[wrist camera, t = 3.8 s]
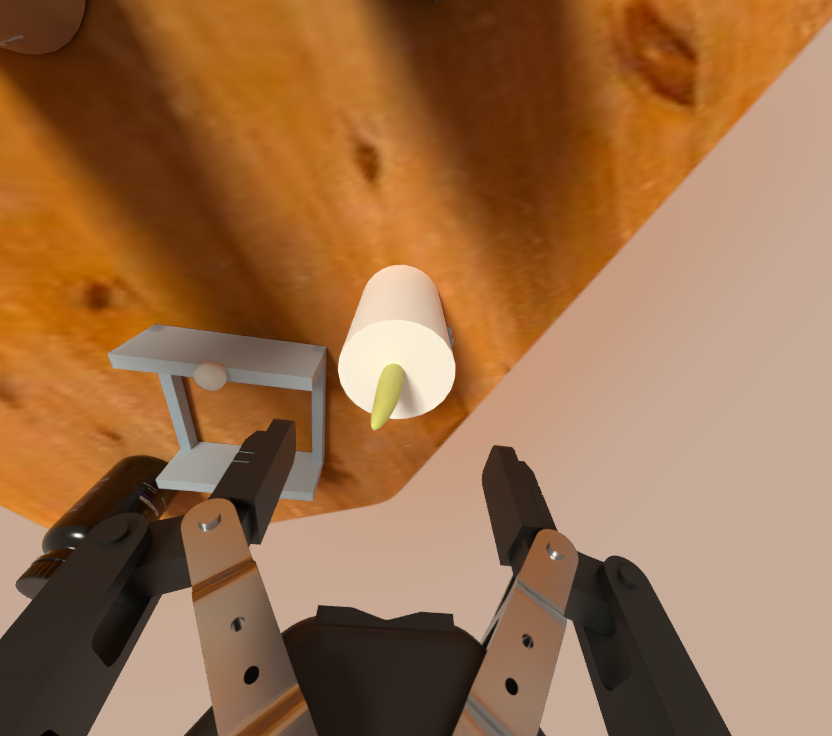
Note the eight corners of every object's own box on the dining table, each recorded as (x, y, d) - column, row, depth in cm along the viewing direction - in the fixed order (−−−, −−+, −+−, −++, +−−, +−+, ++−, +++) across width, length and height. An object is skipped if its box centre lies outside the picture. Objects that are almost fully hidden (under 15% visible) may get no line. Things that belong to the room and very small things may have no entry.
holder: (153, 319, 27) (96, 354, 22) (326, 342, 28) (309, 379, 23) (190, 451, 35) (154, 498, 30) (324, 464, 36) (310, 511, 31)
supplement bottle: (194, 473, 36) (111, 592, 26) (169, 502, 39) (83, 621, 29) (130, 442, 34) (10, 561, 24) (107, 475, 36) (-11, 595, 26)
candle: (437, 341, 28) (460, 484, 16) (362, 336, 28) (322, 478, 15) (447, 268, 25) (487, 374, 12) (362, 261, 25) (311, 362, 12)
